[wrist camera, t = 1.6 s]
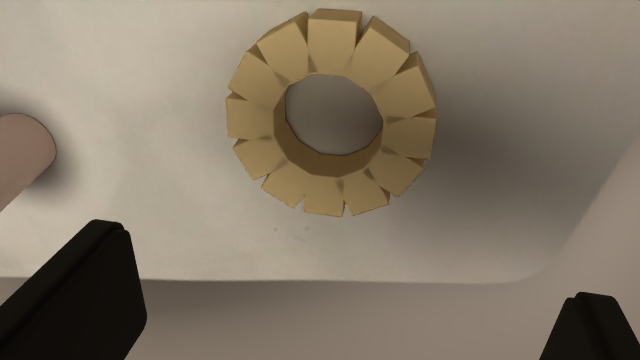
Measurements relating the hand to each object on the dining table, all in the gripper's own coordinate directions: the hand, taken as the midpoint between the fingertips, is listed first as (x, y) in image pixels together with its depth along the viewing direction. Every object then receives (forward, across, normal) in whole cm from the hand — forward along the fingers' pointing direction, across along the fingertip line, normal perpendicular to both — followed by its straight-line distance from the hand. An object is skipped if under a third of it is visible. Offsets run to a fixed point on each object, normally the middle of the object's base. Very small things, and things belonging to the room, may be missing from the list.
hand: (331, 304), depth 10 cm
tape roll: (+15, +2, +2) cm, 15 cm away
